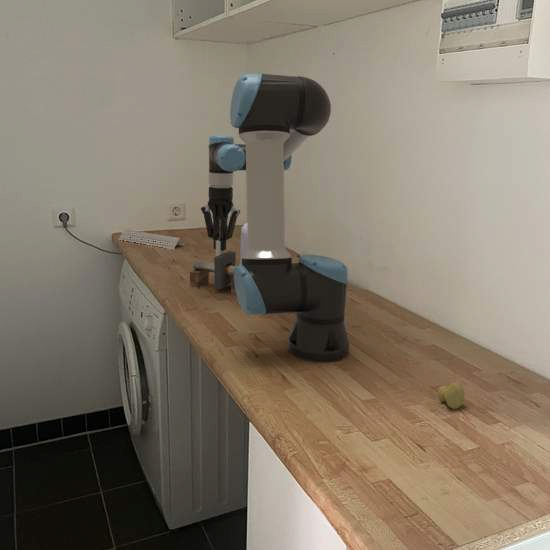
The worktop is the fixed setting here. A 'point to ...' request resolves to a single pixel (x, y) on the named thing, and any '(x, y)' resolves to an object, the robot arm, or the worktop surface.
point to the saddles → (205, 279)
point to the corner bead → (150, 239)
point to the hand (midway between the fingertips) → (219, 259)
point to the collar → (223, 269)
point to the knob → (452, 395)
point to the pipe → (212, 267)
